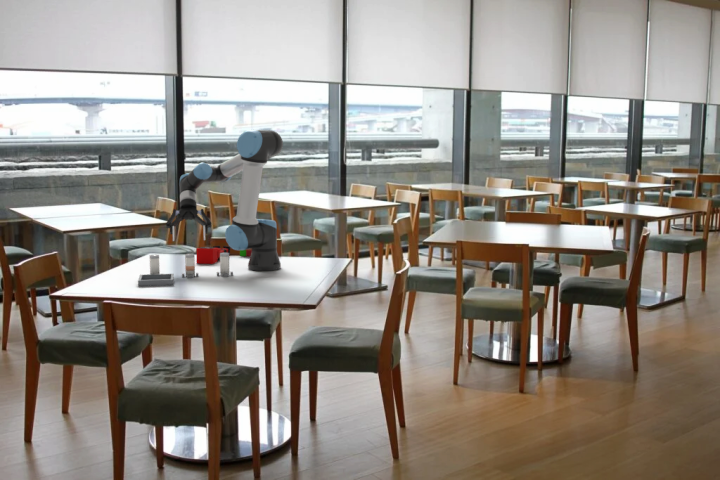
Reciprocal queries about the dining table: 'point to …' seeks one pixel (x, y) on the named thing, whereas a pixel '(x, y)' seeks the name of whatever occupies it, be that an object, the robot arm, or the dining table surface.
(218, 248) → the toy
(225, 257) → the plain fuse
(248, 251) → the toy
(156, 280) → the charcoal tray
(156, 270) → the plain fuse
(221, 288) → the dining table surface
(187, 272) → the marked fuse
